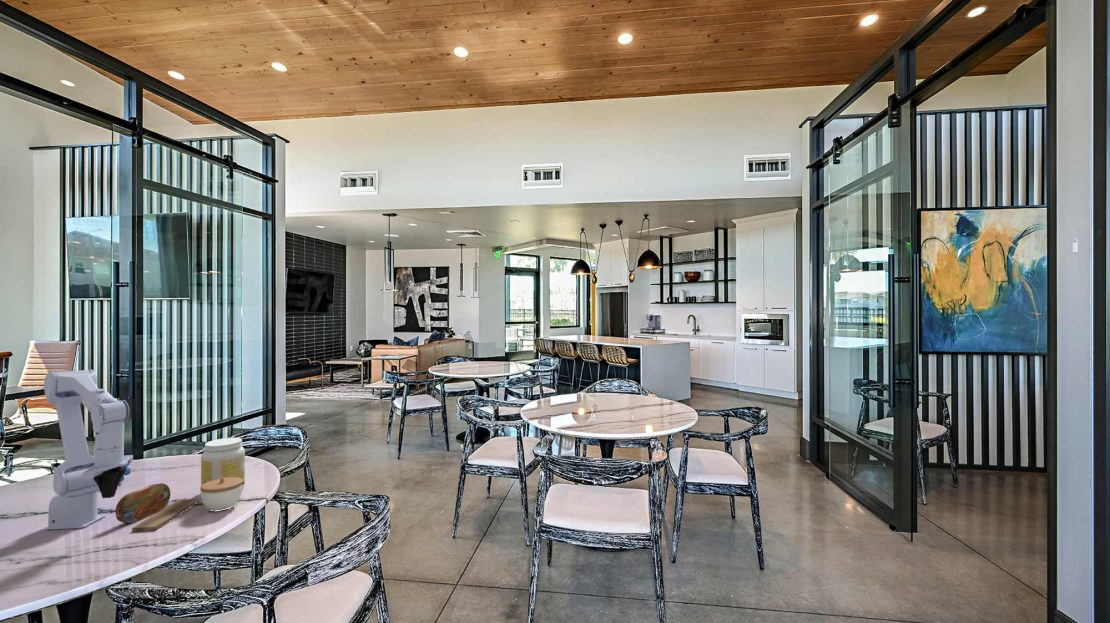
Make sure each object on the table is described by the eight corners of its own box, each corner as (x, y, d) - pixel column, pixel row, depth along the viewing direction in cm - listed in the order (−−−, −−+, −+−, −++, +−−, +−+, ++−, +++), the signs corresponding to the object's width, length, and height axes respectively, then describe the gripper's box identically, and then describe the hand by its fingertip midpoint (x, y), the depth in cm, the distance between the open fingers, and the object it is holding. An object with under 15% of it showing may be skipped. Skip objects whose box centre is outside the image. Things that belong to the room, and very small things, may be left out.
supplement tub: (248, 483, 167) (249, 435, 167) (239, 495, 155) (240, 444, 156) (207, 487, 162) (208, 438, 162) (194, 500, 151) (195, 448, 151)
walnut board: (132, 531, 129) (132, 527, 129) (178, 503, 149) (178, 499, 149) (156, 530, 130) (156, 526, 130) (199, 502, 149) (199, 498, 149)
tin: (122, 528, 131) (123, 498, 131) (112, 527, 131) (113, 497, 131) (171, 506, 146) (171, 479, 146) (161, 506, 146) (162, 479, 146)
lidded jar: (193, 517, 138) (193, 485, 139) (209, 503, 149) (209, 473, 149) (234, 513, 141) (235, 482, 141) (247, 499, 152) (248, 470, 152)
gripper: (104, 454, 120) (103, 507, 120) (145, 439, 134) (144, 486, 134) (73, 455, 119) (72, 508, 119) (117, 440, 133) (116, 487, 133)
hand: (108, 497), depth 127 cm, fingers closed
